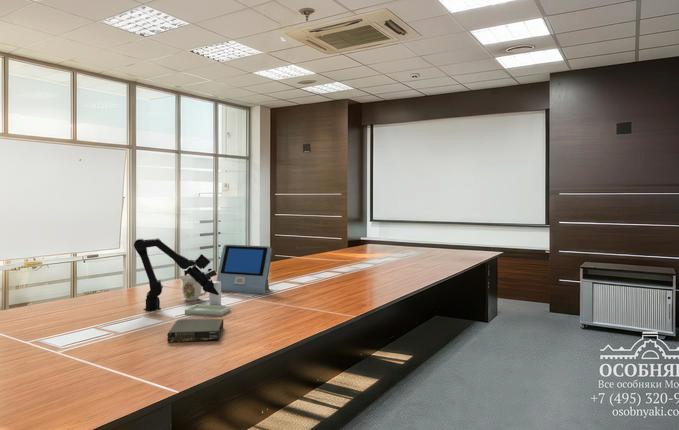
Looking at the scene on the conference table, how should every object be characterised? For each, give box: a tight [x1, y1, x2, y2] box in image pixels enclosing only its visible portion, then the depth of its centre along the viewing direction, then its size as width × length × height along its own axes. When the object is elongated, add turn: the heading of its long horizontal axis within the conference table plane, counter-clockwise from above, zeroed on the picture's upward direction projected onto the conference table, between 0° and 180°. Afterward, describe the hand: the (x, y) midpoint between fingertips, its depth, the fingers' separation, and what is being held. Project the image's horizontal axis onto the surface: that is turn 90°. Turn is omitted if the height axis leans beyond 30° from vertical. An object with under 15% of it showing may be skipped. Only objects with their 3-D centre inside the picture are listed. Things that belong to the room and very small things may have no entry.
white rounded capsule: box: [208, 280, 222, 306], centre depth 260 cm, size 6×6×13 cm
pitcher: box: [178, 275, 208, 302], centre depth 273 cm, size 11×18×14 cm, turn 90°
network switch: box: [166, 318, 224, 343], centre depth 204 cm, size 23×23×5 cm
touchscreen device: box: [216, 244, 273, 295], centre depth 302 cm, size 35×20×30 cm, turn 73°
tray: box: [184, 303, 231, 317], centre depth 243 cm, size 20×12×2 cm, turn 80°
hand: (217, 293), depth 260 cm, fingers closed on white rounded capsule, 6 cm apart
